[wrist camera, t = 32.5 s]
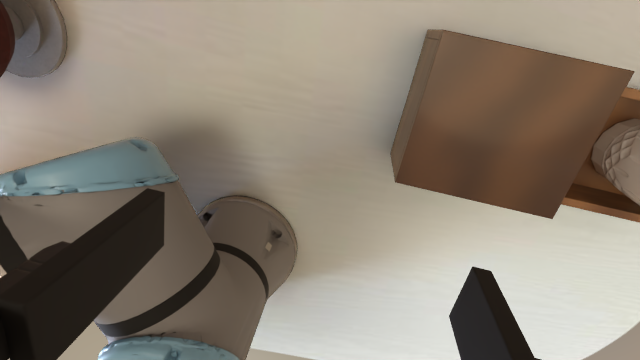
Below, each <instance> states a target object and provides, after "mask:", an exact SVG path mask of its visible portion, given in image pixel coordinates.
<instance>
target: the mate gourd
mask: <svg viewBox="0 0 640 360" xmlns="http://www.w3.org/2000/svg"><path fill="white" fill-rule="evenodd" d="M66 47H67V35H66V29H65V24H64V21H63V18H62V15H61V12H60V10H59V8H58V6H57V4H56V2H55V1H54V0H0V77H1V76H2V75H3V73H4V72H5V70H7V71H9V72H10V73H13V74H16V75H18V76H22V77H29V78H31V77H41V76H45V75H48V74H50V73H52V72H53V71H54V70H56V69H57V68H58V66H59V65H60V64H61V63H62V60H63V58H64V56H65V52H66Z"/></svg>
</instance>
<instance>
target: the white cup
mask: <svg viewBox="0 0 640 360" xmlns="http://www.w3.org/2000/svg"><path fill="white" fill-rule="evenodd" d="M591 160H592V162H593V165H594V167H595V170H596V171H597V172H598V173H600V174H601V175H602V176H604V177H605V178H607V179H608V180H609V181H610V182H611V183H612V184H613V186H615V187H616V188H617V189H618V190H620V191H621V192H622V193H623V194H624V195H626V196H627V197H628V198H630V199H631V200H632V201H634V202H635V203H636V204H638V205H639V206H640V119H631V120H627V121H623V122H619V123H617V124H615V125H614V126H612V127H611V128H609V129H608V130H606V131H605V132H603V133H602V135H601V136H600V137H599V139H598V140H597V142H596V143H595V144H594V146H593V152H592V157H591Z"/></svg>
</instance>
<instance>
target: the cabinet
mask: <svg viewBox="0 0 640 360" xmlns="http://www.w3.org/2000/svg"><path fill="white" fill-rule="evenodd" d="M633 73H634V71H631V70H626V69H621V68H617V67H612V66H607V65H603V64H598V63H594V62H589V61H584V60H580V59H575V58H571V57H566V56H561V55H557V54H552V53H548V52H543V51H538V50H534V49H529V48H525V47H520V46H515V45H511V44H506V43H502V42H497V41H492V40H488V39H483V38H479V37H474V36H469V35H465V34H460V33H456V32H451V31H446V30H428V31H427V34H426V37H425V41H424V44H423V47H422V51H421V54H420V57H419V61H418V64H417V67H416V70H415V74H414V77H413V80H412V84H411V87H410V90H409V94H408V97H407V100H406V104H405V107H404V110H403V114H402V117H401V120H400V123H399V127H398V130H397V133H396V137H395V140H394V143H393V147H392V150H391V160H392V166H393V172H394V177H395V182H397V183H401V184H405V185H410V186H414V187H418V188H422V189H427V190H431V191H435V192H439V193H444V194H448V195H452V196H456V197H461V198H465V199H469V200H473V201H478V202H482V203H486V204H490V205H495V206H499V207H503V208H508V209H512V210H516V211H520V212H525V213H529V214H533V215H537V216H542V217H546V218H550V219H553V217H554V215H555V214H556V212H557V210H558V208H559V206H560V205H561V203H562V201H563V199H564V197H565V196H566V194H567V192H568V190H569V188H570V187H571V185H572V183H573V181H574V179H575V178H576V176H577V174H578V172H579V170H580V169H581V167H582V165H583V163H584V161H585V160H586V158H587V156H588V154H589V152H590V151H591V149H592V147H593V145H594V143H595V142H596V140H597V138H598V136H599V135H600V133H601V131H602V129H603V127H604V126H605V124H606V122H607V120H608V118H609V117H610V115H611V113H612V111H613V109H614V108H615V106H616V104H617V102H618V100H619V99H620V97H621V95H622V93H623V91H624V90H625V88H626V86H627V84H628V82H629V81H630V79H631V77H632V75H633Z"/></svg>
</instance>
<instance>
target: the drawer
mask: <svg viewBox="0 0 640 360" xmlns="http://www.w3.org/2000/svg"><path fill="white" fill-rule="evenodd" d="M631 119H640V90H638V89H633V88H629V87H626V88H625V90H624V91H623V93H622V95H621V97H620V99H619V100H618V102H617V104H616V106H615V108H614V109H613V111H612V113H611V115H610V117H609V118H608V120H607V122H606V124H605V126H604V127H603V129H602V131H601V133H600V135H599V136H598V138H597V140H598V139H599V137H600V136H601V135H602V133H603V132H605V131H606V130H608V129H609V128H611V127H612V126H614V125H615V124H617V123H619V122H623V121H627V120H631ZM597 140H596V142H597ZM596 142H595V143H596ZM595 143H594V144H595ZM593 146H594V145H593ZM592 152H593V147H592V149H591V151H590V152H589V154H588V156H587V158H586V160H585V161H584V163H583V165H582V167H581V169H580V170H579V172H578V174H577V176H576V178H575V179H574V181H573V183H572V185H571V187H570V188H569V190H568V192H567V194H566V196H565V197H564V199H563V201H562V203H561V204H563V205H567V206H571V207H576V208H580V209H584V210H588V211H593V212H597V213H601V214H606V215H610V216H614V217H618V218H623V219H627V220H631V221H636V222H640V206H639V205H638V204H636V203H635V202H634V201H632V200H631V199H630V198H628V197H627V196H626V195H624V194H623V193H622V192H621V191H620V190H618V189H617V188H616V187H615V186H613V184H612V183H611V182H610V181H609V180H608V179H607V178H605V177H604V176H602V175H601V174H600V173H598V172H597V171H596V170H595V167H594V165H593V162H592V160H591V157H592Z"/></svg>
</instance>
